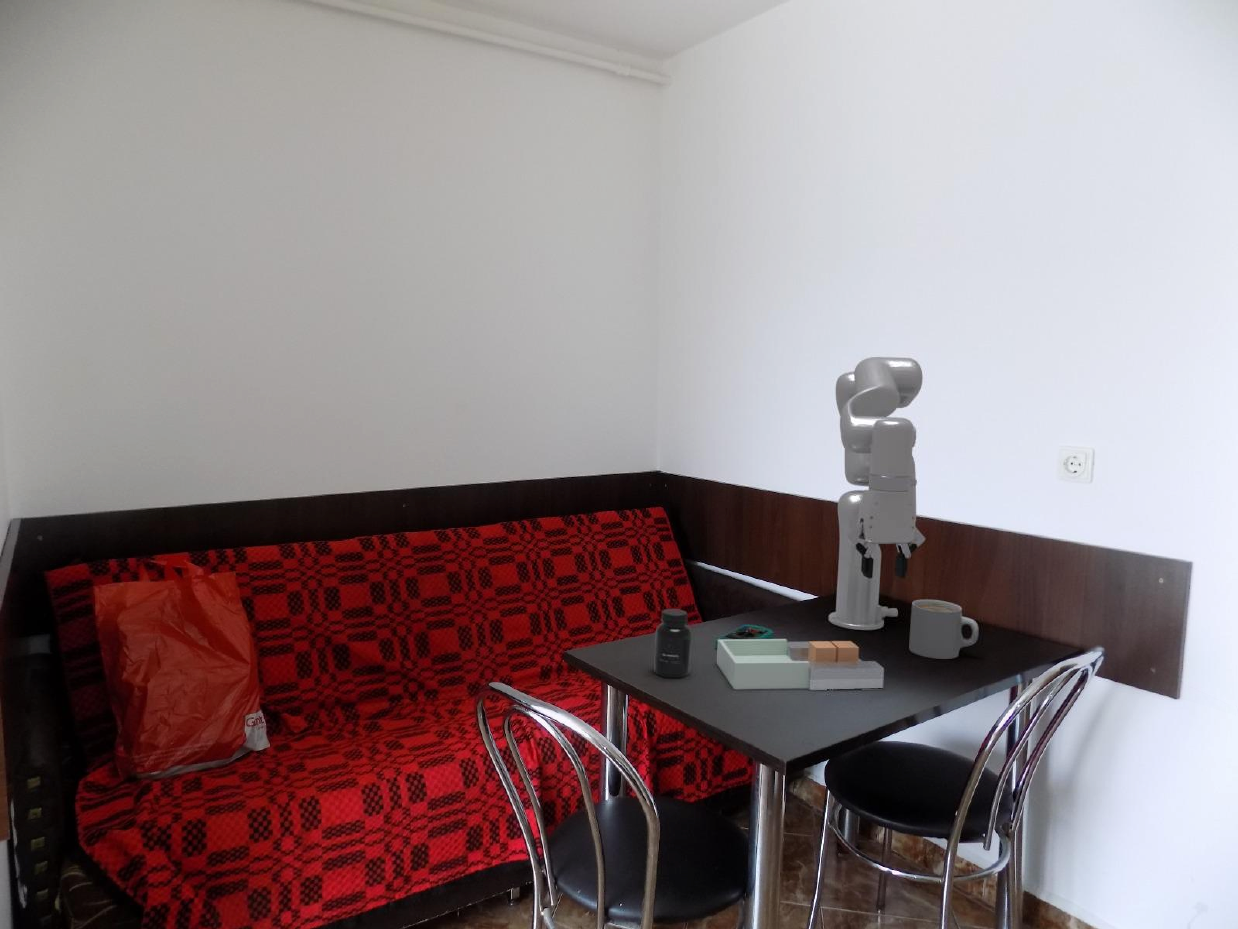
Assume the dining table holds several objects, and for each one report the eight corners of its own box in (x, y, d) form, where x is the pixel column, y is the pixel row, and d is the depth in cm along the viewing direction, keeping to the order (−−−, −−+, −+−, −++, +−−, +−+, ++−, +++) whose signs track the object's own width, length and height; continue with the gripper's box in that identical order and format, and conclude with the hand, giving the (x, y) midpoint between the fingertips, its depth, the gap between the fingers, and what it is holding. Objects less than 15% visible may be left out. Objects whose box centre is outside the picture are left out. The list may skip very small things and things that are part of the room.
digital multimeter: (774, 641, 185) (775, 628, 185) (745, 658, 173) (746, 644, 172) (744, 635, 189) (744, 622, 189) (713, 651, 177) (714, 637, 176)
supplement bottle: (663, 681, 157) (666, 618, 156) (648, 669, 163) (650, 608, 162) (696, 676, 160) (698, 615, 159) (679, 665, 166) (681, 606, 165)
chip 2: (849, 660, 166) (850, 641, 165) (857, 667, 162) (858, 647, 161) (830, 661, 165) (831, 641, 165) (837, 668, 161) (838, 647, 161)
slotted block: (849, 660, 172) (850, 641, 172) (882, 689, 156) (884, 668, 156) (783, 661, 170) (784, 641, 170) (809, 690, 155) (811, 669, 154)
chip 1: (827, 661, 165) (828, 641, 165) (835, 668, 161) (836, 647, 161) (807, 661, 165) (809, 641, 164) (815, 668, 161) (816, 648, 160)
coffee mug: (901, 651, 179) (904, 605, 178) (918, 641, 187) (921, 597, 186) (966, 666, 171) (970, 618, 170) (981, 655, 178) (985, 608, 177)
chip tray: (784, 662, 169) (785, 639, 169) (808, 688, 156) (809, 662, 155) (716, 663, 168) (717, 639, 167) (734, 689, 154) (735, 663, 154)
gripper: (923, 482, 165) (916, 572, 167) (838, 481, 163) (833, 572, 165) (941, 487, 158) (935, 581, 160) (853, 486, 156) (848, 581, 158)
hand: (883, 576), depth 162 cm, fingers open, 5 cm apart
